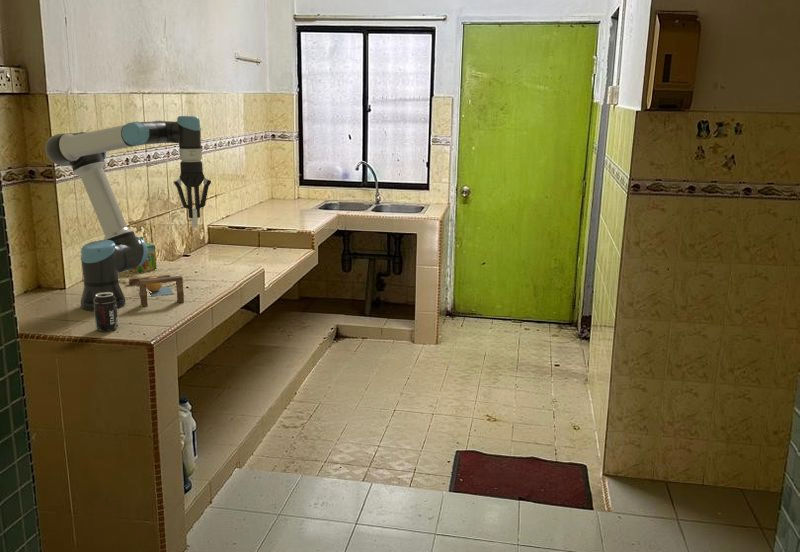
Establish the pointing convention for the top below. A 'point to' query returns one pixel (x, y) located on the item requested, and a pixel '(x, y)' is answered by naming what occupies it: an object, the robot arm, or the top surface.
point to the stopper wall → (136, 280)
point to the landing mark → (161, 291)
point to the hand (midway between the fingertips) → (195, 226)
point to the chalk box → (148, 260)
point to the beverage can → (105, 311)
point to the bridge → (159, 280)
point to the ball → (153, 286)
